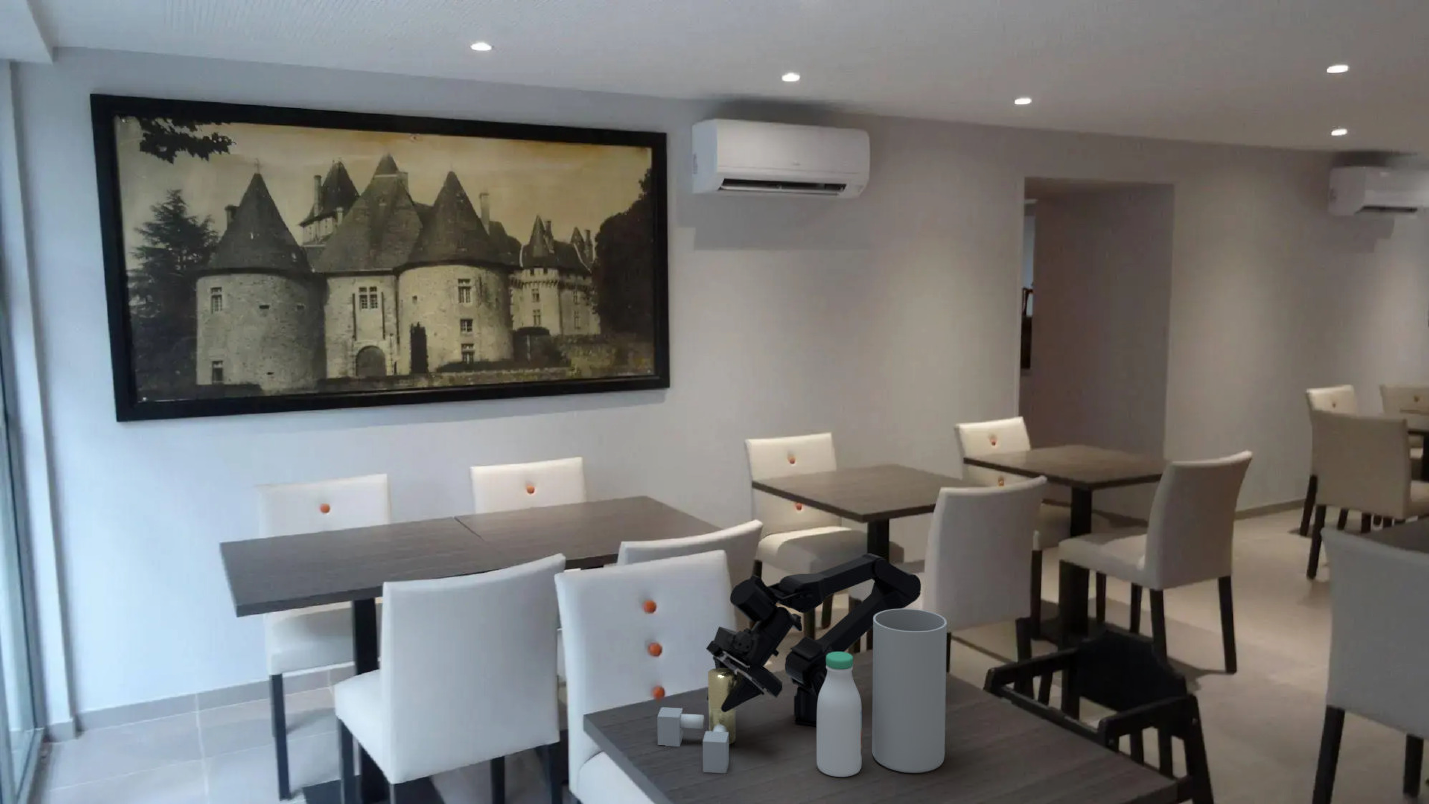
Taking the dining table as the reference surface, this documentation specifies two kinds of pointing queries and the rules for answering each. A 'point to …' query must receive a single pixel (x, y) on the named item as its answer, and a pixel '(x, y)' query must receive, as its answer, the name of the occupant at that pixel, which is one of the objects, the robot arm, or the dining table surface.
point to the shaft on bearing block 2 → (716, 750)
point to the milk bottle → (839, 719)
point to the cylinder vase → (909, 689)
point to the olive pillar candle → (721, 700)
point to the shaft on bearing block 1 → (675, 725)
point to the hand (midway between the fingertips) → (715, 705)
